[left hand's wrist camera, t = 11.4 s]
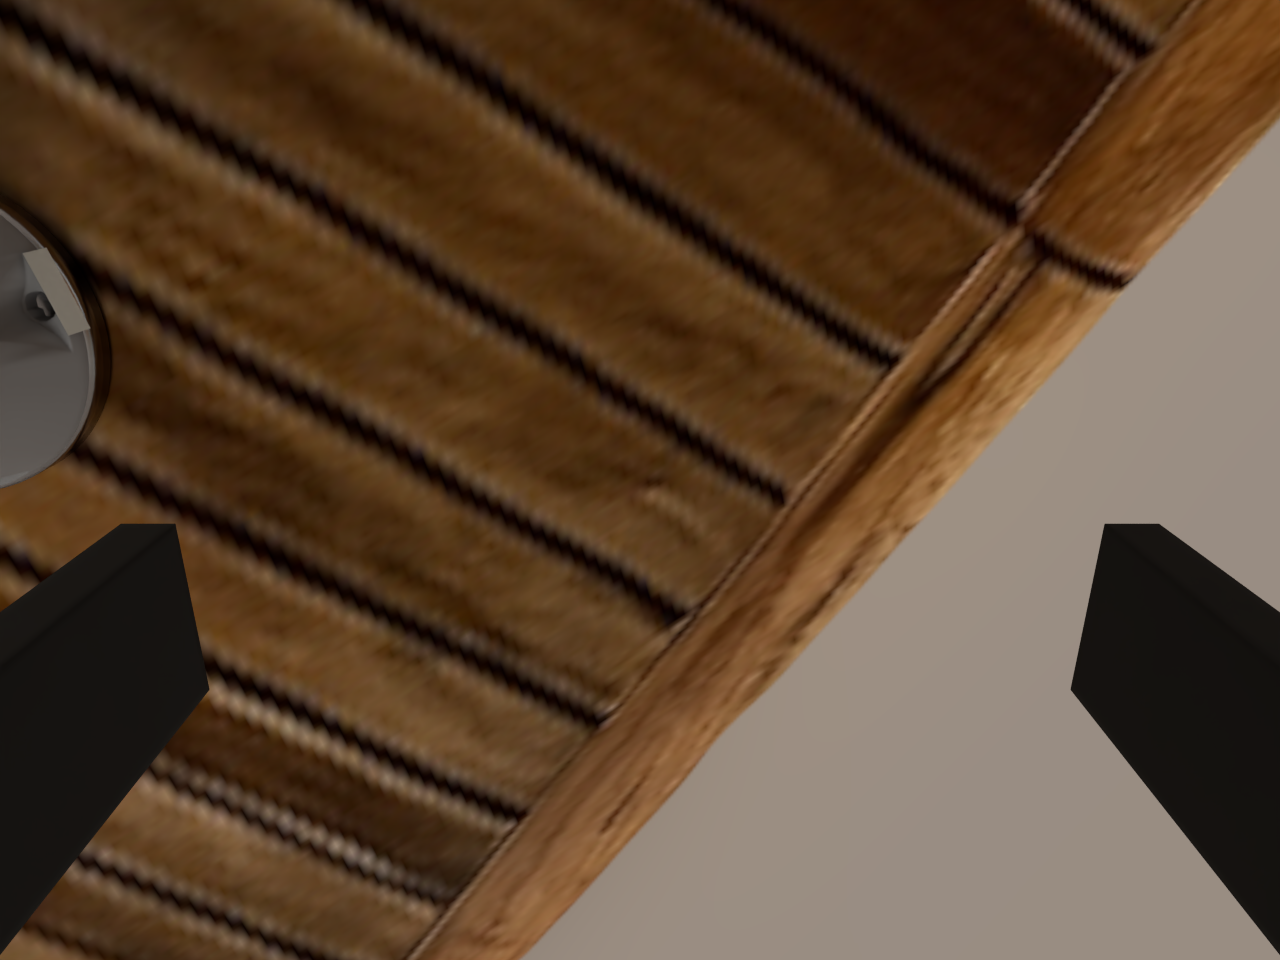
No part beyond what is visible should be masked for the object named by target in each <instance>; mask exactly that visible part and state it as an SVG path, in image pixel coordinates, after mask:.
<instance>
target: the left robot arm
mask: <svg viewBox="0 0 1280 960" xmlns="http://www.w3.org/2000/svg"><path fill="white" fill-rule="evenodd" d="M110 370H111V363H110V348H109V341H108V335H107V331H106V327H105V323H104V320H103V317H102V314H101V311H100V308H99V305H98V303H97V301H96V298H95V296H94V294H93V291H92V290H91V288H90V286H89V284H88V282H87V280H86V278H85V277H84V275H83V273H82V272H81V270H80V269H79V267H78V266H77V264H76V263H75V261H74V260H73V259H72V257H71V256H70V255H69V253H68V252H67V251H66V249H65V248H64V247H63V246H62V245H61V244H60V243H59V241H58V240H57V239H56V238H55V237H54V236H53V235H52V234H51V233H50V232H49V231H48V230H47V229H46V228H45V227H44V226H43V225H42V224H41V223H40V222H39V221H38V220H36V219H35V218H34V217H33V216H31V215H30V214H29V213H28V212H27V211H25V210H24V209H23V208H21V207H20V206H18V205H17V204H15V203H14V202H12V201H11V200H10V199H8V198H6V197H5V196H3V195H1V194H0V488H4V487H8V486H11V485H14V484H17V483H20V482H22V481H24V480H27V479H29V478H31V477H33V476H35V475H37V474H39V473H40V472H42V471H44V470H46V469H48V468H49V467H51V466H53V465H55V464H56V463H58V462H60V461H61V460H63V459H65V458H66V457H67V456H68V455H70V454H71V453H72V452H74V451H75V450H76V449H77V448H78V447H79V446H80V445H81V444H82V443H83V442H84V440H85V439H86V438H87V437H88V435H89V434H90V433H91V431H92V430H93V428H94V426H95V425H96V423H97V421H98V419H99V417H100V415H101V412H102V410H103V408H104V404H105V401H106V398H107V394H108V388H109V383H110ZM208 691H209V685H208V680H207V676H206V671H205V666H204V661H203V656H202V651H201V646H200V642H199V637H198V632H197V627H196V622H195V617H194V612H193V607H192V603H191V598H190V593H189V588H188V583H187V578H186V573H185V569H184V564H183V559H182V554H181V549H180V544H179V539H178V534H177V530H176V525H175V524H120V525H119V526H117V527H116V528H115V529H113V530H112V531H111V532H109V533H108V534H107V535H105V536H104V537H102V538H101V539H100V540H98V541H97V542H96V543H94V544H93V545H92V546H90V547H89V548H87V549H86V550H85V551H83V552H82V553H81V554H79V555H78V556H76V557H75V558H74V559H72V560H71V561H70V562H68V563H67V564H66V565H64V566H63V567H61V568H60V569H59V570H57V571H56V572H55V573H53V574H52V575H51V576H49V577H48V578H46V579H45V580H44V581H42V582H41V583H40V584H38V585H37V586H36V587H34V588H33V589H31V590H30V591H29V592H27V593H26V594H25V595H23V596H22V597H20V598H19V599H18V600H16V601H15V602H14V603H12V604H11V605H10V606H8V607H7V608H5V609H4V610H3V611H1V612H0V954H1V953H2V952H3V951H4V949H5V948H6V947H7V946H8V944H9V943H10V942H11V940H12V939H13V938H14V937H15V935H16V934H17V933H18V932H19V930H20V929H21V928H22V927H23V925H24V924H25V923H26V921H27V920H28V919H29V918H30V916H31V915H32V914H33V913H34V911H35V910H36V909H37V907H38V906H39V905H40V904H41V902H42V901H43V900H44V899H45V897H46V896H47V895H48V894H49V892H50V891H51V890H52V888H53V887H54V886H55V885H56V883H57V882H58V881H59V880H60V878H61V877H62V876H63V875H64V873H65V872H66V871H67V869H68V868H69V867H70V866H71V864H72V863H73V862H74V861H75V859H76V858H77V857H78V856H79V854H80V853H81V852H82V850H83V849H84V848H85V847H86V845H87V844H88V843H89V842H90V840H91V839H92V838H93V837H94V835H95V834H96V833H97V831H98V830H99V829H100V828H101V826H102V825H103V824H104V823H105V821H106V820H107V819H108V818H109V816H110V815H111V814H112V812H113V811H114V810H115V809H116V807H117V806H118V805H119V804H120V802H121V801H122V800H123V798H124V797H125V796H126V795H127V793H128V792H129V791H130V790H131V788H132V787H133V786H134V785H135V783H136V782H137V781H138V779H139V778H140V777H141V776H142V774H143V773H144V772H145V771H146V769H147V768H148V767H149V766H150V764H151V763H152V762H153V760H154V759H155V758H156V757H157V755H158V754H159V753H160V752H161V750H162V749H163V748H164V747H165V745H166V744H167V743H168V741H169V740H170V739H171V738H172V736H173V735H174V734H175V733H176V731H177V730H178V729H179V728H180V726H181V725H182V724H183V722H184V721H185V720H186V719H187V717H188V716H189V715H190V714H191V712H192V711H193V710H194V708H195V707H196V706H197V705H198V703H199V702H200V701H201V700H202V698H203V697H204V696H205V695H206V693H207V692H208ZM1071 691H1072V692H1073V693H1074V695H1075V696H1076V697H1077V698H1078V699H1079V701H1080V702H1081V703H1082V705H1083V706H1084V707H1085V708H1086V710H1087V711H1088V712H1089V714H1090V715H1091V716H1092V717H1093V719H1094V720H1095V721H1096V722H1097V724H1098V725H1099V726H1100V727H1101V729H1102V730H1103V731H1104V733H1105V734H1106V735H1107V736H1108V738H1109V739H1110V740H1111V741H1112V743H1113V744H1114V745H1115V746H1116V748H1117V749H1118V750H1119V751H1120V753H1121V754H1122V755H1123V757H1124V758H1125V759H1126V760H1127V762H1128V763H1129V764H1130V766H1131V767H1132V768H1133V769H1134V771H1135V772H1136V773H1137V774H1138V776H1139V777H1140V778H1141V779H1142V781H1143V782H1144V783H1145V784H1146V786H1147V787H1148V788H1149V790H1150V791H1151V792H1152V793H1153V795H1154V796H1155V797H1156V798H1157V800H1158V801H1159V802H1160V804H1161V805H1162V806H1163V807H1164V809H1165V810H1166V811H1167V812H1168V814H1169V815H1170V816H1171V818H1172V819H1173V820H1174V821H1175V823H1176V824H1177V825H1178V826H1179V828H1180V829H1181V830H1182V831H1183V833H1184V834H1185V835H1186V837H1187V838H1188V839H1189V840H1190V842H1191V843H1192V844H1193V845H1194V847H1195V848H1196V849H1197V850H1198V852H1199V853H1200V854H1201V856H1202V857H1203V858H1204V859H1205V861H1206V862H1207V863H1208V864H1209V866H1210V867H1211V868H1212V869H1213V871H1214V872H1215V873H1216V875H1217V876H1218V877H1219V878H1220V880H1221V881H1222V882H1223V883H1224V885H1225V886H1226V887H1227V888H1228V890H1229V891H1230V892H1231V894H1232V895H1233V896H1234V897H1235V899H1236V900H1237V901H1238V902H1239V904H1240V905H1241V906H1242V907H1243V909H1244V910H1245V911H1246V913H1247V914H1248V915H1249V916H1250V918H1251V919H1252V920H1253V921H1254V923H1255V924H1256V925H1257V926H1258V928H1259V929H1260V930H1261V932H1262V933H1263V934H1264V935H1265V937H1266V938H1267V939H1268V940H1269V942H1270V943H1271V944H1272V946H1273V947H1274V948H1275V949H1276V951H1277V952H1278V953H1279V954H1280V612H1279V611H1277V610H1276V609H1275V608H1273V607H1272V606H1270V605H1269V604H1268V603H1266V602H1265V601H1264V600H1262V599H1261V598H1260V597H1258V596H1257V595H1255V594H1254V593H1253V592H1251V591H1250V590H1249V589H1247V588H1246V587H1244V586H1243V585H1242V584H1240V583H1239V582H1238V581H1236V580H1235V579H1234V578H1232V577H1231V576H1229V575H1228V574H1227V573H1225V572H1224V571H1223V570H1221V569H1220V568H1219V567H1217V566H1216V565H1214V564H1213V563H1212V562H1210V561H1209V560H1208V559H1206V558H1205V557H1204V556H1202V555H1201V554H1199V553H1198V552H1197V551H1195V550H1194V549H1193V548H1191V547H1190V546H1188V545H1187V544H1186V543H1184V542H1183V541H1182V540H1180V539H1179V538H1178V537H1176V536H1175V535H1173V534H1172V533H1171V532H1169V531H1168V530H1167V529H1165V528H1164V527H1162V526H1161V525H1160V524H1105V525H1104V530H1103V534H1102V539H1101V544H1100V549H1099V554H1098V559H1097V564H1096V569H1095V573H1094V578H1093V583H1092V588H1091V593H1090V598H1089V603H1088V608H1087V612H1086V617H1085V622H1084V627H1083V632H1082V637H1081V642H1080V646H1079V651H1078V656H1077V661H1076V666H1075V671H1074V676H1073V680H1072V685H1071Z"/></svg>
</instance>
